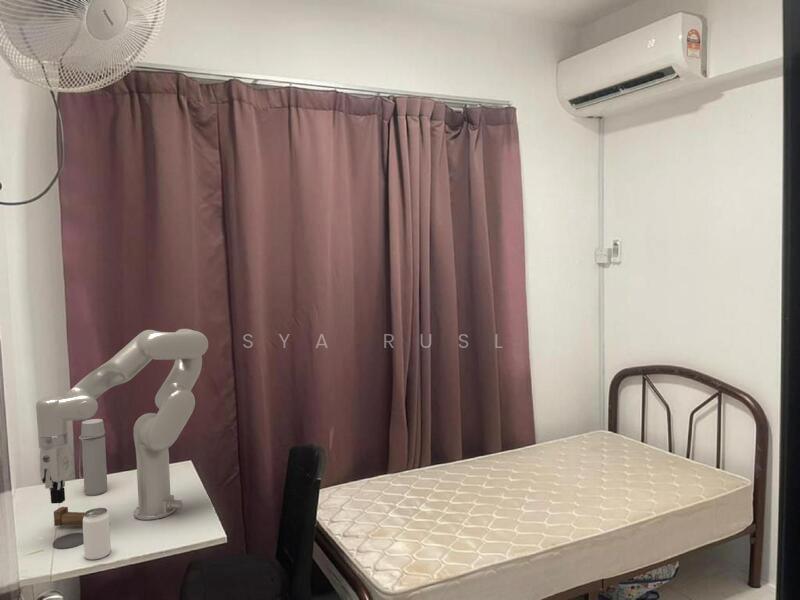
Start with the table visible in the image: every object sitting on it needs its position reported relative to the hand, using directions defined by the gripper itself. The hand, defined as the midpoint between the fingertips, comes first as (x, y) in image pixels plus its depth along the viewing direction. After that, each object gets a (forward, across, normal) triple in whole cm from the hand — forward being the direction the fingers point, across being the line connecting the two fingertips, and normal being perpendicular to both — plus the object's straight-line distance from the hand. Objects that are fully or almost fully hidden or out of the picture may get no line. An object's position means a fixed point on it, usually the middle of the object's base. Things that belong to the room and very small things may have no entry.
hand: (58, 502), depth 176 cm
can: (+11, -12, -15) cm, 22 cm away
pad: (+10, -3, -4) cm, 12 cm away
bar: (+10, +7, -1) cm, 12 cm away
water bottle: (+11, +35, +5) cm, 37 cm away
